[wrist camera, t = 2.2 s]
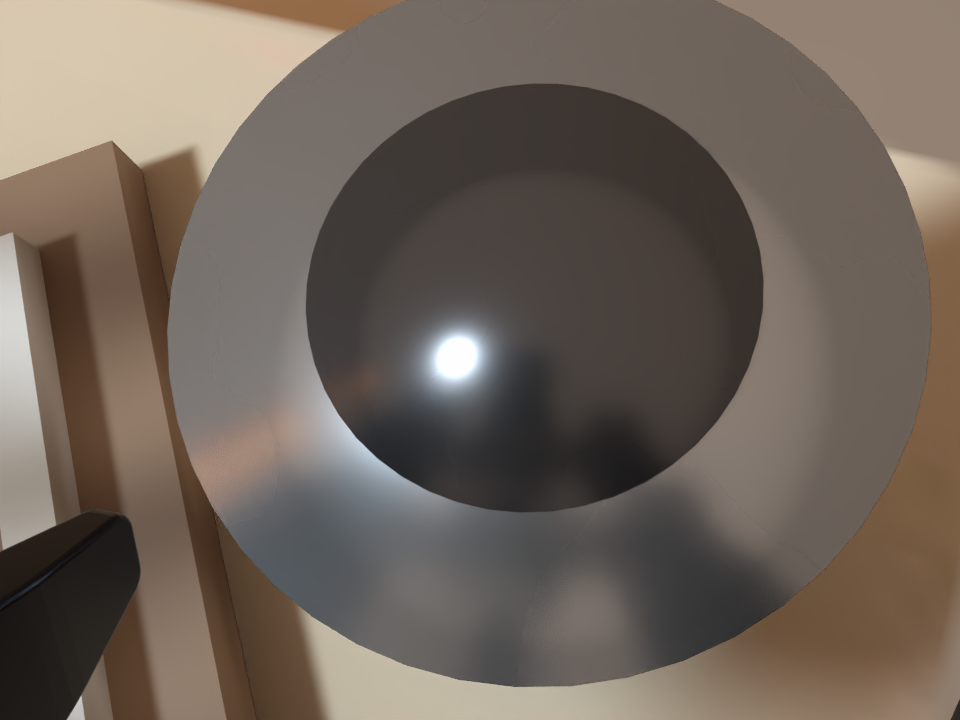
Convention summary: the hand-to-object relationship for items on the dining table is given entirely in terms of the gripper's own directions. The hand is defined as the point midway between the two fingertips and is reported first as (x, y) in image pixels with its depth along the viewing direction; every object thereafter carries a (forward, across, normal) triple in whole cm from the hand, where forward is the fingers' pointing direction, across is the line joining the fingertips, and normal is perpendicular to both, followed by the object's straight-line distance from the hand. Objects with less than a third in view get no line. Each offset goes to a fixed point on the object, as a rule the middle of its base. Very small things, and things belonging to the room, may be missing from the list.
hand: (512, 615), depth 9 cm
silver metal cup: (+9, 0, +5) cm, 10 cm away
